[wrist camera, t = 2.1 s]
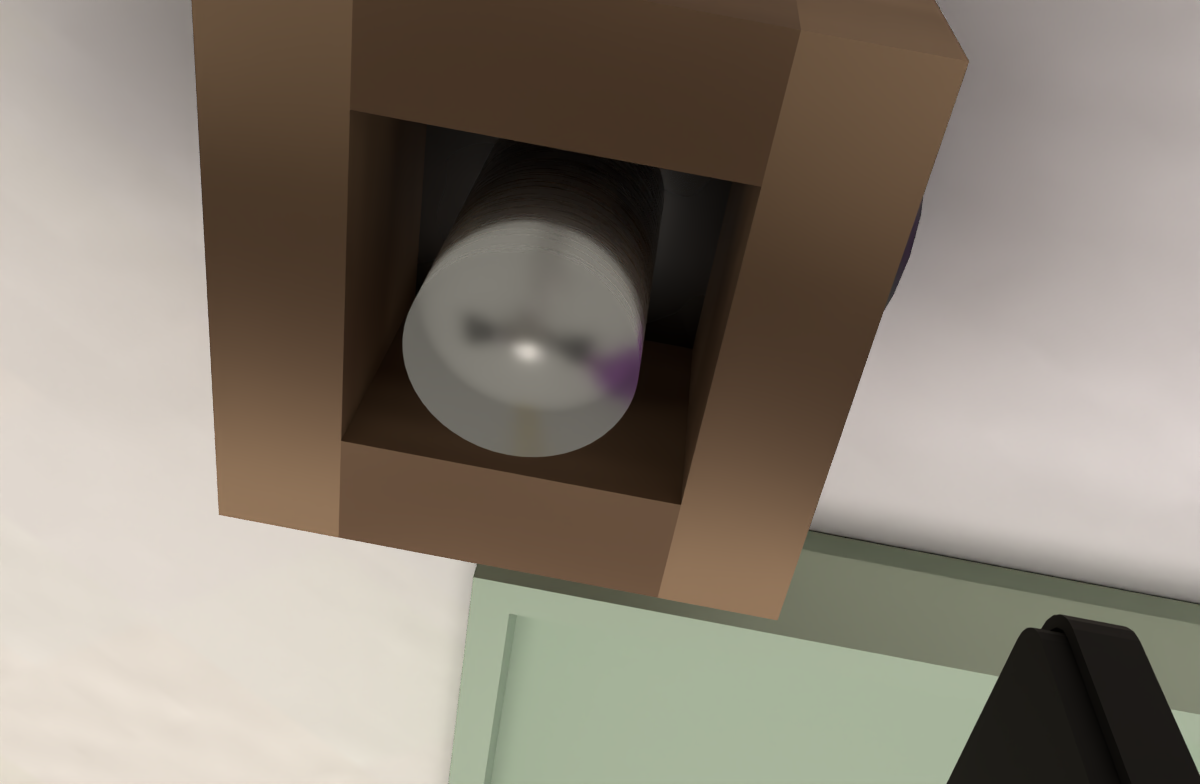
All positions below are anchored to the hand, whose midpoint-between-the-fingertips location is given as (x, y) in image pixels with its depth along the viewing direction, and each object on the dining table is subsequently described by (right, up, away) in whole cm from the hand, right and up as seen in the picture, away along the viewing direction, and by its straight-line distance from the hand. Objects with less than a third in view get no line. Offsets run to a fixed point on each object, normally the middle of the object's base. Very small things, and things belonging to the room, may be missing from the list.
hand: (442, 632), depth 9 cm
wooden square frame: (+1, +5, +5) cm, 7 cm away
